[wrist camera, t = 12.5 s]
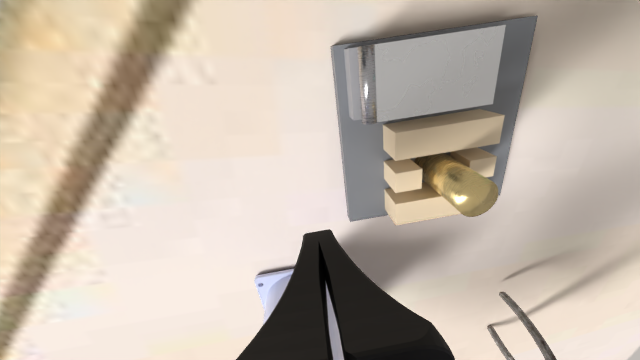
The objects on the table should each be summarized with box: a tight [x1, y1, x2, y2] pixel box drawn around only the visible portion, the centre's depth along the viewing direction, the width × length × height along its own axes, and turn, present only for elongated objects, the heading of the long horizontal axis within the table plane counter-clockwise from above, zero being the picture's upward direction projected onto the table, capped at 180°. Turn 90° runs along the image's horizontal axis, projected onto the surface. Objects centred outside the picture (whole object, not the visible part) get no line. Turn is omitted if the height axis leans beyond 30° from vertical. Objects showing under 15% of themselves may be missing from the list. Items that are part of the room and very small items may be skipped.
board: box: [331, 16, 537, 226], centre depth 19 cm, size 14×14×4 cm
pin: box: [414, 153, 498, 217], centre depth 18 cm, size 3×3×6 cm
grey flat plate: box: [357, 25, 506, 124], centre depth 15 cm, size 4×8×1 cm, turn 98°
